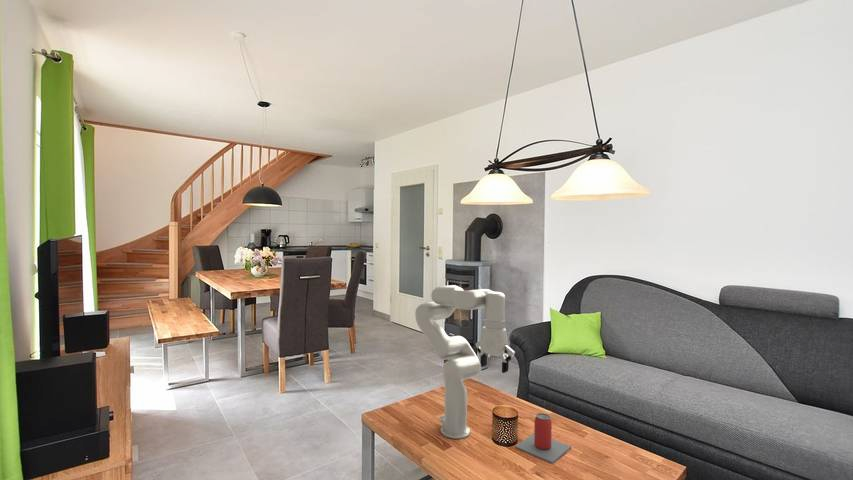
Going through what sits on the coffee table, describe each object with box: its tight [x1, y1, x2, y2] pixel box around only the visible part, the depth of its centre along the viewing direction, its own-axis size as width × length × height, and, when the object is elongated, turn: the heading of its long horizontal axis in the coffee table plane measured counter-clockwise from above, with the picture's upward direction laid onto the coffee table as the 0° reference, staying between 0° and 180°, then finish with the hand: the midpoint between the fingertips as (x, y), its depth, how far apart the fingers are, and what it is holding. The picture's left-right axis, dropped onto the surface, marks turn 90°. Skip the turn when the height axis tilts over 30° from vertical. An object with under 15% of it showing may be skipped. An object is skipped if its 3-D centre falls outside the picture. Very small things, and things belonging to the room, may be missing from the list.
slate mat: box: [514, 433, 572, 464], centre depth 160 cm, size 16×16×1 cm
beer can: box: [533, 412, 553, 450], centre depth 160 cm, size 7×7×12 cm
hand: (494, 369), depth 154 cm, fingers open, 9 cm apart
